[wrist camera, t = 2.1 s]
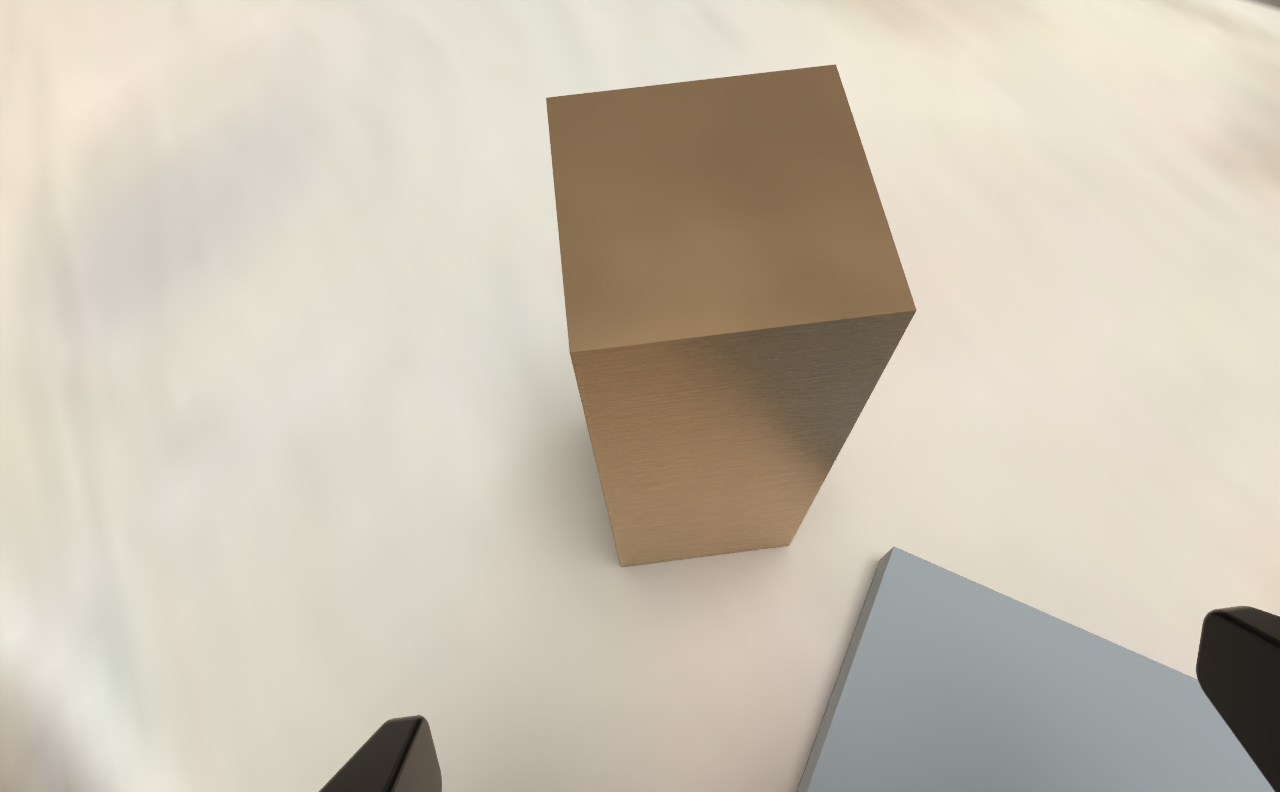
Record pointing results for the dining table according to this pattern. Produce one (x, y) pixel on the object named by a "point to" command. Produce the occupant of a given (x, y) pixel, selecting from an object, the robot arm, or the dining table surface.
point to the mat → (1008, 702)
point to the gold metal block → (721, 300)
